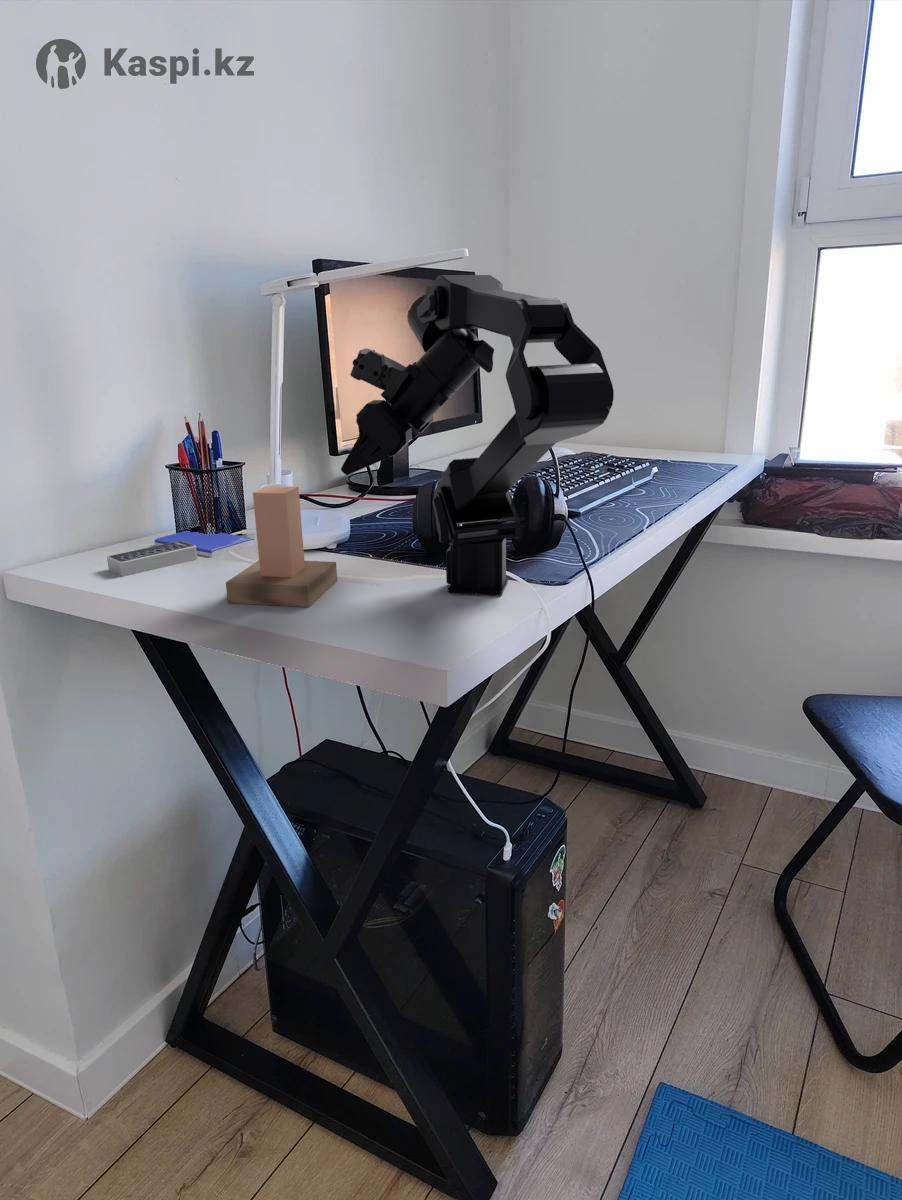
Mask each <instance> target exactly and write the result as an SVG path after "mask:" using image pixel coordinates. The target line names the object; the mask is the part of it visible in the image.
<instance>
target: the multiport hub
mask: <svg viewBox="0 0 902 1200" xmlns="http://www.w3.org/2000/svg"><path fill="white" fill-rule="evenodd" d="M106 560H107V567H108V572H111V573H113V574H114V575H117V576H120V577H127V576H131V575H136V574H137V575H138V574H141V573H144V572H150V571H154V570H157V569H163V568H167V567H172V566H174V565H179V564H184V563H185V564H186V563H188V562H192V561H196V560H197V561H198V554H197V551H196V546H195V545H192V544H189V543H186V542H184V541H177V542H172V543H167V544H163V545H158V546H155V545H154V546H149V547H144V548H141V549H135V550H130V551H125V552H121V553H116V554H111V555H109V556H106Z"/></svg>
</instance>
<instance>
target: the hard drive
mask: <svg viewBox="0 0 902 1200" xmlns="http://www.w3.org/2000/svg"><path fill="white" fill-rule="evenodd" d="M177 541H184V542H186V543H189V544H192V545H195V546H196V551H197V555H199V556H203V557H210V558H213V557H217V556H220V555H223V554H227V553H230V552H233V551H237V550H240V549H243V548H247V547H249V546H253V545H256V539H255V538H253V537H247V536H241V535H237V534H229V533H224V532H220V533H218V534H203V533H199V532H190V531H187V530H183V531H180V532H176V533H172V534H167V535H164V536H162V537H158V538H155V539H154V546H158V545H163V544H167V543H172V542H177ZM229 551H230V552H229Z"/></svg>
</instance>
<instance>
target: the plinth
mask: <svg viewBox="0 0 902 1200" xmlns="http://www.w3.org/2000/svg"><path fill="white" fill-rule="evenodd" d="M304 562H305V568H304V569H303V570H301V571H300V572H299V573H297V574H296V575H295V576H294V577H273V576H261V574H260V563H259V560H257V561H256V562H254V563H253V564H251V565H249V566H248V567H247V568H245V569H243V570H242V571H241V572H239V573H237V574H236V575H234V577H232V578H231V579H228V580H227V581H226V582H225V587H226V588H225V589H226V596H227V603H228V604H239V605H240V604H242V605H243V604H245V605H261V606H262V605H263V606H279V607H280V606H282V607H301V608H309V607H311V606H312V605H313V604H314V603H315V602H317V601H318V599H320V598H321V596H323V595H324V594H325V593H326V592H328V590H330V589H331V587H333V586H334V585H335V584H336V583H337V582H338V569H337V562H336V561H326V560H323V561H320V560H304Z"/></svg>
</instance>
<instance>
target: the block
mask: <svg viewBox="0 0 902 1200" xmlns="http://www.w3.org/2000/svg"><path fill="white" fill-rule="evenodd" d="M252 500H253V509H254V511H253V512H254V521H255V531H256V541H257V542H256V543H257V551H258V561H259V563H260V574H261V576H273V577H294V576H295V575H296V574H297V573H299V572H300V571H301V570H303V569H304V568H305V562H304V561H305V553H304V551H305V550H304V539H303V526H302V525H303V524H302V513H301V511H302V510H301V500H300V489H299V486H291V485H289V486H288V485H287V486H286V485H266V486H264V487H262V488H260V489H257V490H255V491H253V492H252Z"/></svg>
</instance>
